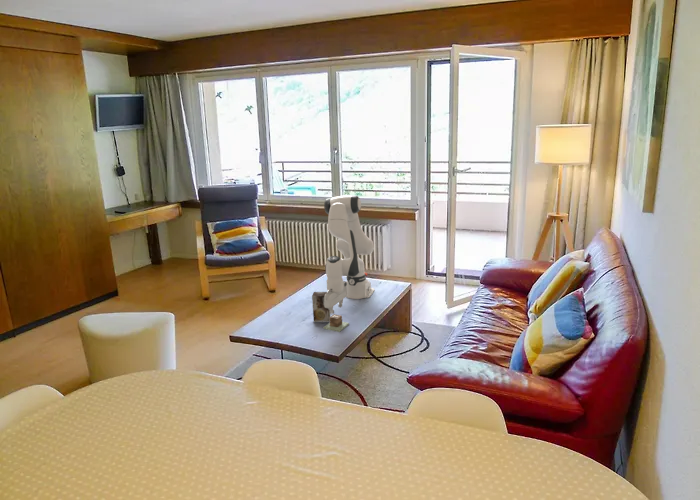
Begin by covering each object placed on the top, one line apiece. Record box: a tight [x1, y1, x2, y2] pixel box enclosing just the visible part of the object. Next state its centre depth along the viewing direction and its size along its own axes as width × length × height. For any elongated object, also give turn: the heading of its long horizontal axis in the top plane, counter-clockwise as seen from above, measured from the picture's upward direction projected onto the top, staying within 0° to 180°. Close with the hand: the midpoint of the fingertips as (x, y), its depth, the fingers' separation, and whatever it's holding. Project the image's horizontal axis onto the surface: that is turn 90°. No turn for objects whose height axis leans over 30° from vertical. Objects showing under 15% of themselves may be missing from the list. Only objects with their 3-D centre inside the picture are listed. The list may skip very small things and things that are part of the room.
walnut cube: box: [329, 313, 343, 327], centre depth 276 cm, size 5×5×5 cm
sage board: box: [323, 321, 350, 333], centre depth 276 cm, size 11×10×1 cm
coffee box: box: [311, 291, 331, 323], centre depth 284 cm, size 9×6×16 cm
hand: (336, 310), depth 274 cm, fingers open, 8 cm apart
